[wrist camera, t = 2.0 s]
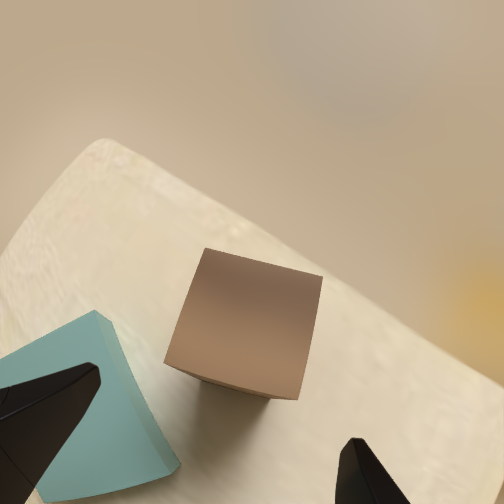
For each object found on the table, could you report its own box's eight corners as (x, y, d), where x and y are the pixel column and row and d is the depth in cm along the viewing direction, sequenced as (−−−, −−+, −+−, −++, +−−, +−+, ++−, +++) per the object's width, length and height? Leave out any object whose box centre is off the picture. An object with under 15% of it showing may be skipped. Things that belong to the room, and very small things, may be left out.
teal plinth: (63, 495, 12) (44, 502, 9) (13, 370, 17) (-8, 363, 14) (180, 464, 15) (171, 474, 12) (111, 321, 20) (94, 309, 17)
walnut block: (270, 398, 18) (297, 399, 9) (200, 379, 18) (163, 362, 9) (286, 332, 20) (322, 276, 11) (220, 315, 21) (204, 247, 12)
